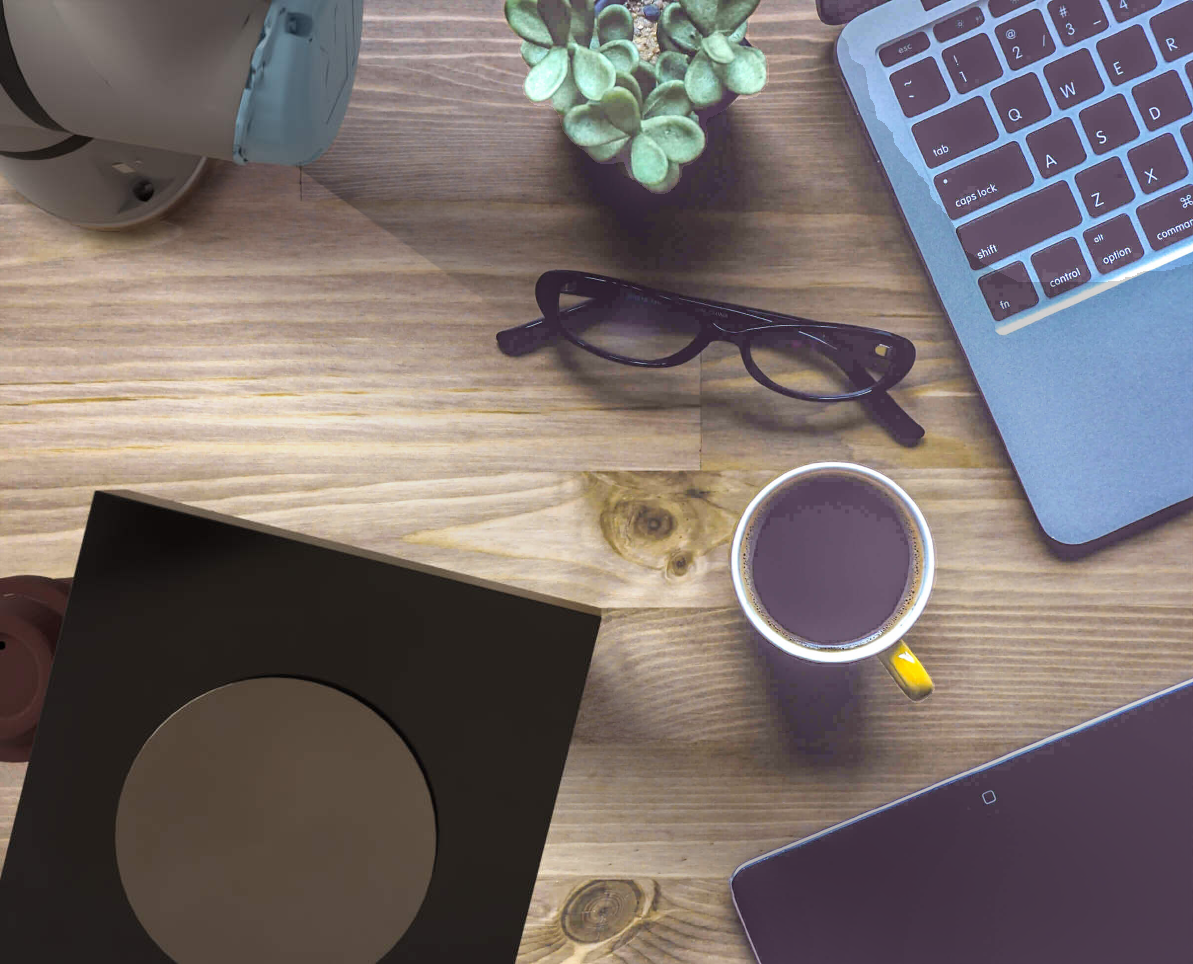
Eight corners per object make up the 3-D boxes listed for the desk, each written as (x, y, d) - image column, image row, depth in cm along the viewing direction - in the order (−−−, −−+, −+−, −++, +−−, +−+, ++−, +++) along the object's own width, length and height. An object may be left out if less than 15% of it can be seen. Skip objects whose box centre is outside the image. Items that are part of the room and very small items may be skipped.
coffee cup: (198, 713, 61) (67, 791, 46) (55, 684, 61) (-122, 752, 46) (226, 570, 61) (105, 602, 46) (84, 541, 61) (-85, 563, 46)
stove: (124, 488, 33) (66, 490, 29) (601, 608, 33) (602, 625, 29) (-4, 1015, 33) (-78, 1081, 29) (470, 1134, 33) (454, 1215, 29)
